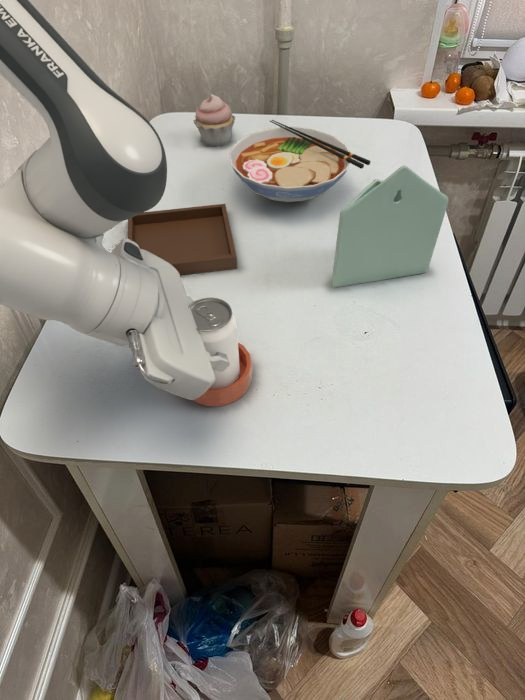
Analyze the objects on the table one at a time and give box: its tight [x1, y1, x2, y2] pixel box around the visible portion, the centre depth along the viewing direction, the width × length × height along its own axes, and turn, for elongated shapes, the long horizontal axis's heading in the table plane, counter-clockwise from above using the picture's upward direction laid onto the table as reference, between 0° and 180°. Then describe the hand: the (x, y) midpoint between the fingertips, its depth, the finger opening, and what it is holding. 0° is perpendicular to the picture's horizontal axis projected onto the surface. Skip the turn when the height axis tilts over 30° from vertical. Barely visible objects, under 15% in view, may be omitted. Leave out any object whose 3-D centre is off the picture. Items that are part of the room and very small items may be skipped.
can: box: [188, 296, 240, 390], centre depth 63 cm, size 6×6×12 cm
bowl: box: [192, 342, 253, 408], centre depth 67 cm, size 10×10×3 cm
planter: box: [331, 165, 449, 289], centre depth 76 cm, size 16×8×20 cm, turn 102°
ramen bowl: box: [228, 119, 371, 203], centre depth 96 cm, size 25×23×8 cm
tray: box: [127, 203, 238, 276], centre depth 86 cm, size 18×16×2 cm
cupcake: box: [192, 93, 236, 147], centre depth 109 cm, size 9×9×10 cm
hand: (216, 341), depth 63 cm, fingers closed on can, 6 cm apart
